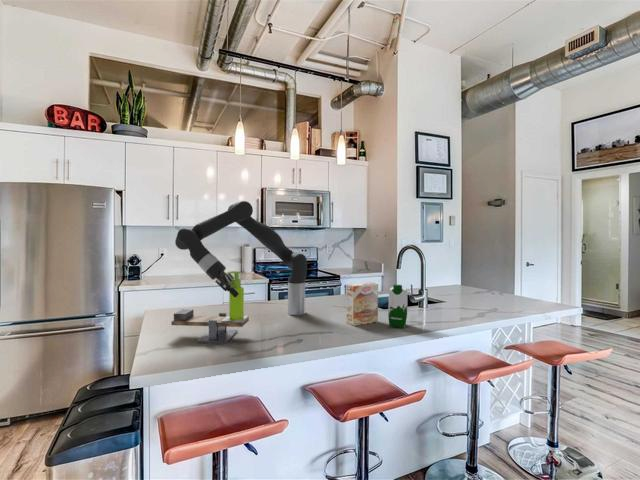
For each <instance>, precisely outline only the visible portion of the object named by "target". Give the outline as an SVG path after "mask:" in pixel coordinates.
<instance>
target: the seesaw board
mask: <svg viewBox="0 0 640 480" xmlns="http://www.w3.org/2000/svg"><path fill="white" fill-rule="evenodd" d="M209 320H217V326H225V327H229V328H230V327H231V328H233V327H234V328H236V327H237V328H243V327H244V326H245V325H246V324H247V323H248V322H249V321H250V320H249V315H244V318H243V319H240V320H231V319H229V315H226V316H219V315H194V309H193V308H192V309H184V308H183V309H181V310H178V311H176V312H174V313H173V320H172V321H171V323H170V324H171V326H183V327H184V326H187V327H189V326H190V327H191V326H194V327H209Z"/></svg>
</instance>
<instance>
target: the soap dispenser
mask: <svg viewBox="0 0 640 480" xmlns="http://www.w3.org/2000/svg"><path fill="white" fill-rule="evenodd" d="M229 273H230V274H234V278H235V279H233V280H232V287H233V288H234V289H235V290H236V291H237V292H238V293H239V295H238V296H237V297H234V296H233V295H232V294H231V293H230V292H228V293H229V301H228V302H229V304H228V305H229V319H231V320H240V319H243V318H244V316H245V315H244V313H245V311H244V309H245V308H244V307H245V306H244V305H245V303H244V302H245V300H244V298H245V297H244V292H245V290H244V289H245V288H244V286H241V283H242V282H241V278H240V277H239V274H241V271H237V270H233V271H227V272H226V274H229Z"/></svg>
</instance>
